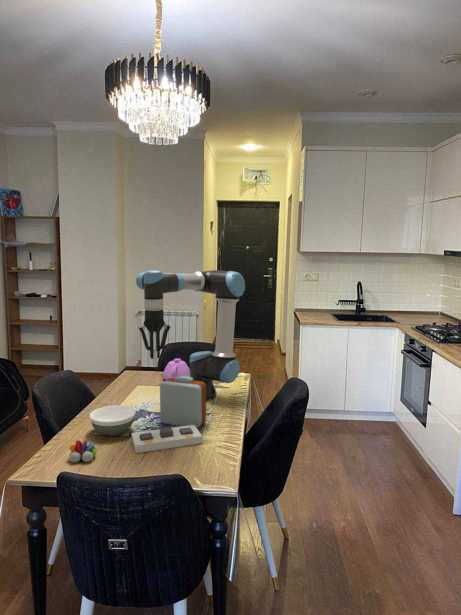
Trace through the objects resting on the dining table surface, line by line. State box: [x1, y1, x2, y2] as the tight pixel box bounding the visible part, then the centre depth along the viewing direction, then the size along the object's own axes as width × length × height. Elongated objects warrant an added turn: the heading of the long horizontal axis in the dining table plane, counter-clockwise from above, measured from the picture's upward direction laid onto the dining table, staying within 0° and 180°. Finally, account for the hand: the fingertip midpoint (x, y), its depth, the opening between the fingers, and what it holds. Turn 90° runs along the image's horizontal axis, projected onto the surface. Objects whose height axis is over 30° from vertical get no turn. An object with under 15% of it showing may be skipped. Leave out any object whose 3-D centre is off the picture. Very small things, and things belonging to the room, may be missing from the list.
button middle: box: [159, 426, 173, 438], centre depth 186 cm, size 4×4×3 cm
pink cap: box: [162, 358, 190, 381], centre depth 267 cm, size 22×16×12 cm
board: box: [131, 425, 203, 454], centre depth 186 cm, size 26×12×3 cm, turn 110°
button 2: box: [180, 427, 193, 435], centre depth 188 cm, size 4×4×3 cm
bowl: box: [89, 404, 137, 437], centre depth 195 cm, size 19×19×8 cm
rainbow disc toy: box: [69, 439, 97, 464], centre depth 171 cm, size 8×10×7 cm
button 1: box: [140, 433, 153, 441], centre depth 183 cm, size 4×4×3 cm
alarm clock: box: [159, 376, 207, 429], centre depth 204 cm, size 18×9×21 cm, turn 71°
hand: (155, 365), depth 191 cm, fingers closed
